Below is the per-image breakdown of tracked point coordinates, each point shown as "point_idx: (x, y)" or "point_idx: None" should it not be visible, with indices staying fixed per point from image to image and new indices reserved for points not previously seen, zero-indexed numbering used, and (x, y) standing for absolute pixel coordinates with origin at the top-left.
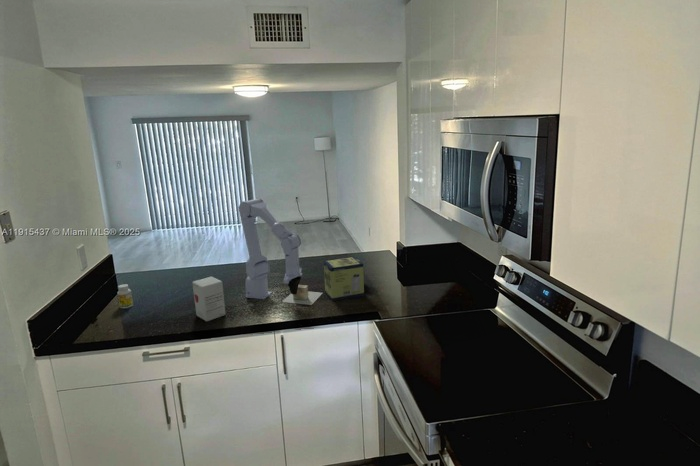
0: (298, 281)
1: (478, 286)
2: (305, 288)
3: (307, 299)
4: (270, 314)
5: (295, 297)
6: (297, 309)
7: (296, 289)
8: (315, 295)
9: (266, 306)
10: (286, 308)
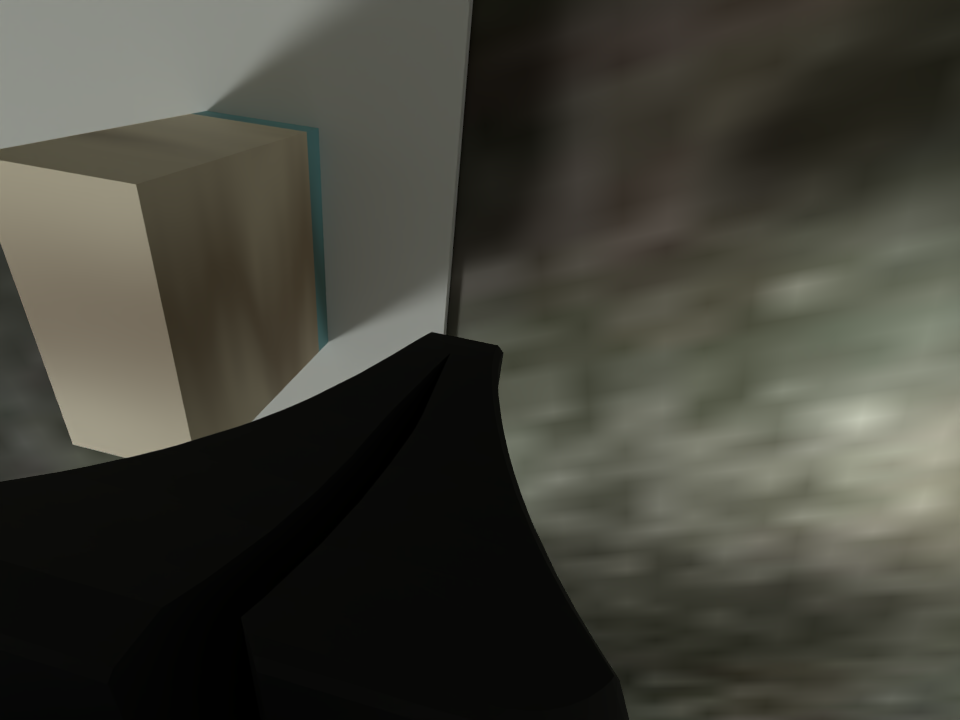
0: (274, 532)
1: None
2: (136, 177)
3: (258, 115)
4: (841, 535)
5: (309, 325)
6: (676, 193)
7: (468, 394)
8: (57, 6)
9: (572, 590)
10: (631, 375)
